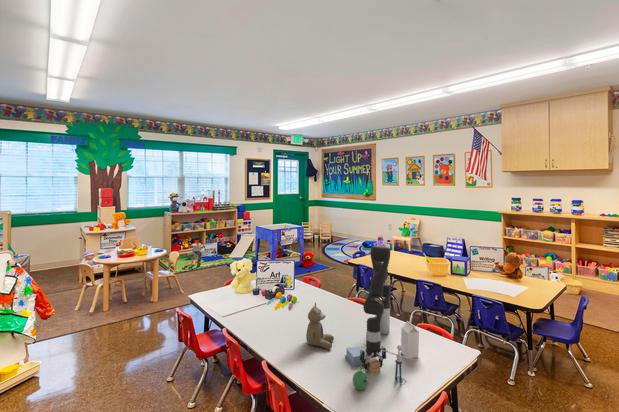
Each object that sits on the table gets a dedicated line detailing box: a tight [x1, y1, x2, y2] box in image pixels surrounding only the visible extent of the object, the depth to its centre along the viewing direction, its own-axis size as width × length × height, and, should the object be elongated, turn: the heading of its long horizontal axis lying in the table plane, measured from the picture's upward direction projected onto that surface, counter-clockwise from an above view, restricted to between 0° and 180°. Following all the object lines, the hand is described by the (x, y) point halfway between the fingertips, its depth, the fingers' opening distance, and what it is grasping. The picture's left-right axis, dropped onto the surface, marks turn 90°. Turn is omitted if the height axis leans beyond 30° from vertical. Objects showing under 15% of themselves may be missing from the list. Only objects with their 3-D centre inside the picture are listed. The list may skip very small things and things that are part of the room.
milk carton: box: [400, 320, 420, 359], centre depth 183 cm, size 7×7×19 cm
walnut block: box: [366, 357, 381, 375], centre depth 168 cm, size 6×6×6 cm
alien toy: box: [352, 365, 370, 391], centre depth 152 cm, size 7×8×10 cm
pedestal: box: [344, 345, 369, 368], centre depth 178 cm, size 11×11×5 cm
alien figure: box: [381, 344, 418, 385], centre depth 158 cm, size 20×5×19 cm, turn 55°
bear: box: [305, 301, 335, 350], centre depth 195 cm, size 21×16×25 cm
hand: (372, 367), depth 168 cm, fingers open, 8 cm apart
